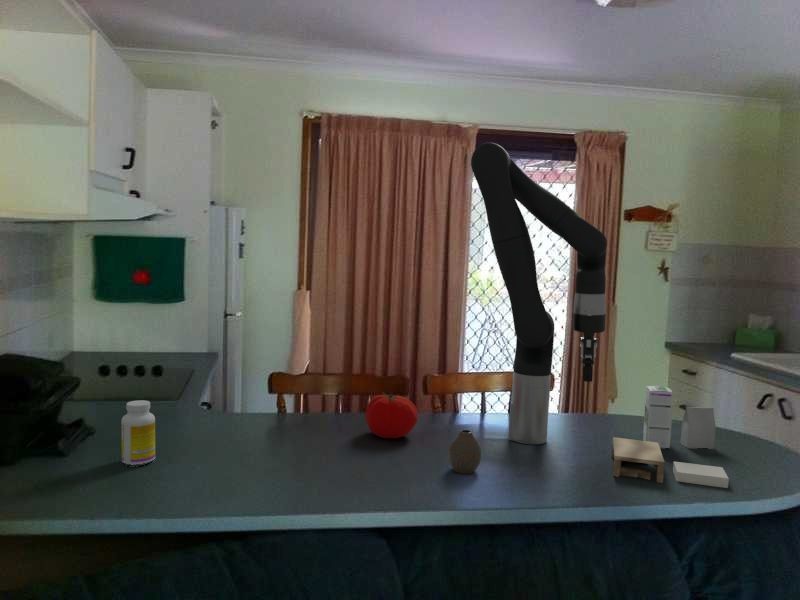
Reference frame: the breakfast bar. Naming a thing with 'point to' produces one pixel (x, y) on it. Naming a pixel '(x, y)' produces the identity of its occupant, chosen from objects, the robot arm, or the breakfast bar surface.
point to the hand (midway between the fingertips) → (587, 377)
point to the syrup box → (658, 415)
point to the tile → (700, 474)
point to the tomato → (391, 416)
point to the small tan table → (637, 457)
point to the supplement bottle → (138, 433)
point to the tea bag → (698, 428)
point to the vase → (465, 453)
